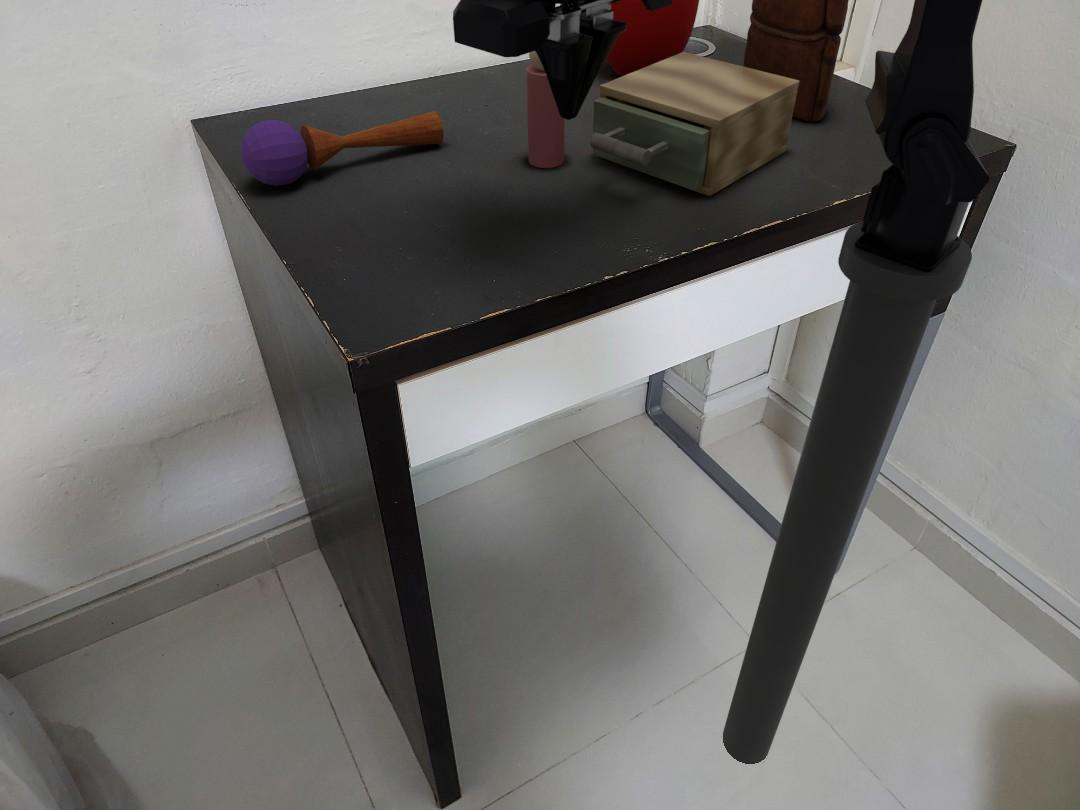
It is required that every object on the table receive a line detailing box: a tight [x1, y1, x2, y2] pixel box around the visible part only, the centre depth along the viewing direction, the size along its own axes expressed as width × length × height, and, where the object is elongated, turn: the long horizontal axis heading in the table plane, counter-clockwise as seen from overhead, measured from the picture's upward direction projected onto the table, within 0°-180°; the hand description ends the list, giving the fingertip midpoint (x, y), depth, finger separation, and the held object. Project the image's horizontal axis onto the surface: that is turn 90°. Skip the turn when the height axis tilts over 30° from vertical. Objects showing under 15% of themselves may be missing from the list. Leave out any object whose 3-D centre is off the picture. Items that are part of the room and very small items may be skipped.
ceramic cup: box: [605, 0, 700, 77], centre depth 98 cm, size 13×17×10 cm
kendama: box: [240, 110, 445, 187], centre depth 78 cm, size 6×6×20 cm
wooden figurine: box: [743, 0, 850, 122], centre depth 84 cm, size 12×6×18 cm, turn 42°
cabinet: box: [597, 51, 799, 197], centre depth 78 cm, size 14×14×7 cm
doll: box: [525, 51, 566, 169], centre depth 76 cm, size 4×4×12 cm
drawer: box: [589, 97, 711, 192], centre depth 76 cm, size 17×12×5 cm
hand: (568, 117), depth 64 cm, fingers closed
